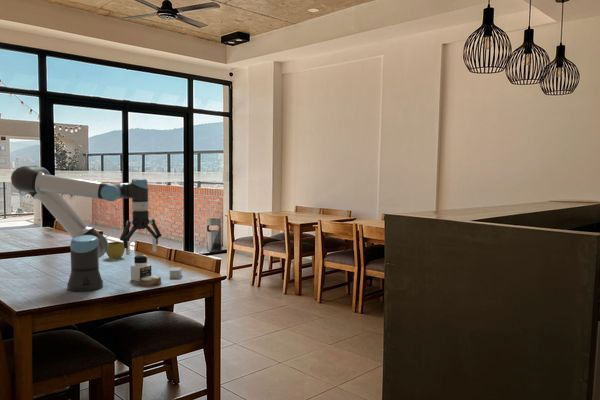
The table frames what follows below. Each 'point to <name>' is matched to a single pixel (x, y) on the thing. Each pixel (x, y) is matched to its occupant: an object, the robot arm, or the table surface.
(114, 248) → the flower pot
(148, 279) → the pedestal
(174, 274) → the grey junction box
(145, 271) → the medicine bottle
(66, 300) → the table surface
